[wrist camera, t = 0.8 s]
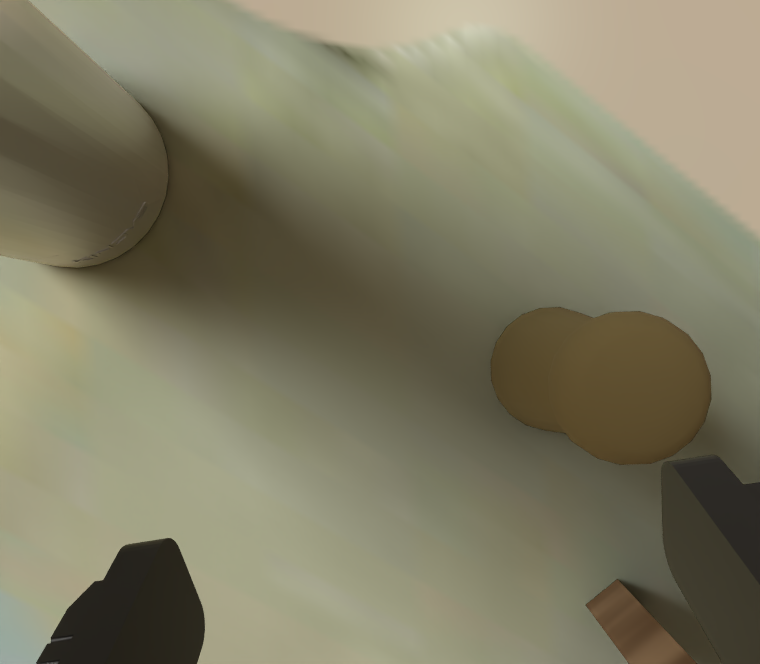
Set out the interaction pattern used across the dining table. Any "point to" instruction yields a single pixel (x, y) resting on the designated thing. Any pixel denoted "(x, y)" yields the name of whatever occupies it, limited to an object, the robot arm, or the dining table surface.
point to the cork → (604, 381)
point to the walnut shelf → (635, 628)
